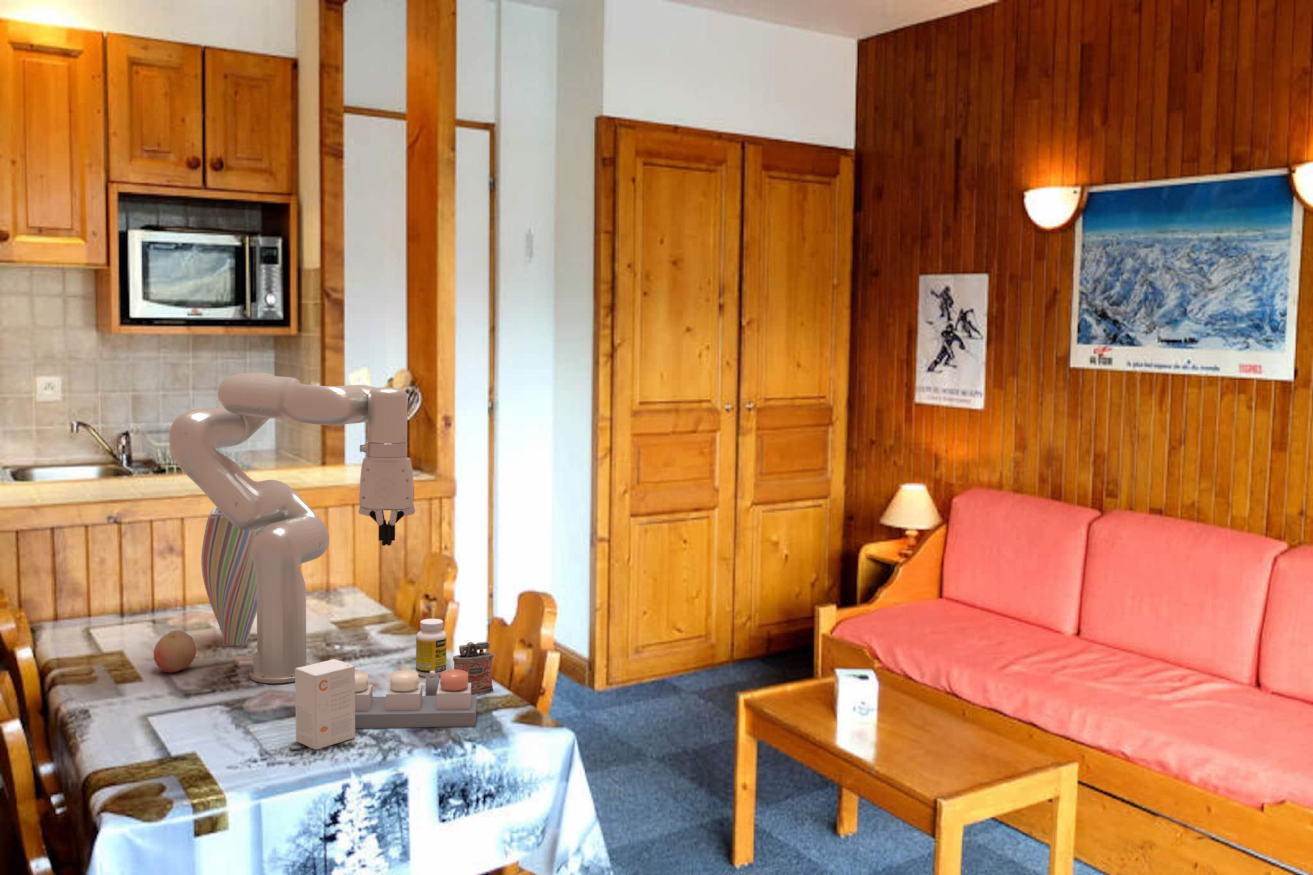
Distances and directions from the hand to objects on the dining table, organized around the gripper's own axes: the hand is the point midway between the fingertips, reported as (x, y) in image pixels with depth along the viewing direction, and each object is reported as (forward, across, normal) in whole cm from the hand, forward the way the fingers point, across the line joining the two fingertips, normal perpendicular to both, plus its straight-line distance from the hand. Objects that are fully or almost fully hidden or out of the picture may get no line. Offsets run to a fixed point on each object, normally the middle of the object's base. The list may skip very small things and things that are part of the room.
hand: (386, 544), depth 223 cm
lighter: (+29, +17, -3) cm, 34 cm away
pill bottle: (+29, +8, +10) cm, 32 cm away
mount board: (+29, +5, -17) cm, 34 cm away
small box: (+29, -7, -28) cm, 41 cm away
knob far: (+26, +14, -17) cm, 34 cm away
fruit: (+29, -44, +14) cm, 55 cm away
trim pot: (+29, +10, -9) cm, 32 cm away
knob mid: (+26, +5, -17) cm, 32 cm away
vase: (+29, -37, +35) cm, 59 cm away
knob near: (+26, -4, -17) cm, 32 cm away
